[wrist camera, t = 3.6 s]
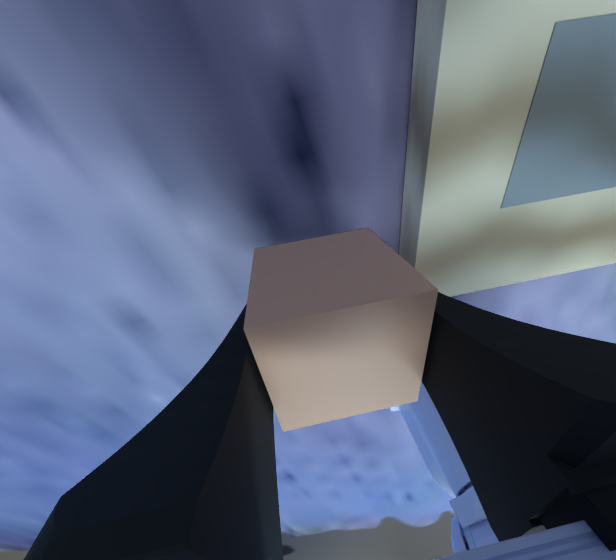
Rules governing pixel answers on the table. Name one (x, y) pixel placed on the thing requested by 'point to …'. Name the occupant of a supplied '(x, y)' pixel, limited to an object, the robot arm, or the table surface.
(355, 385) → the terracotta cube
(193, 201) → the table surface
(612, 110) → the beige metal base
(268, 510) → the robot arm
